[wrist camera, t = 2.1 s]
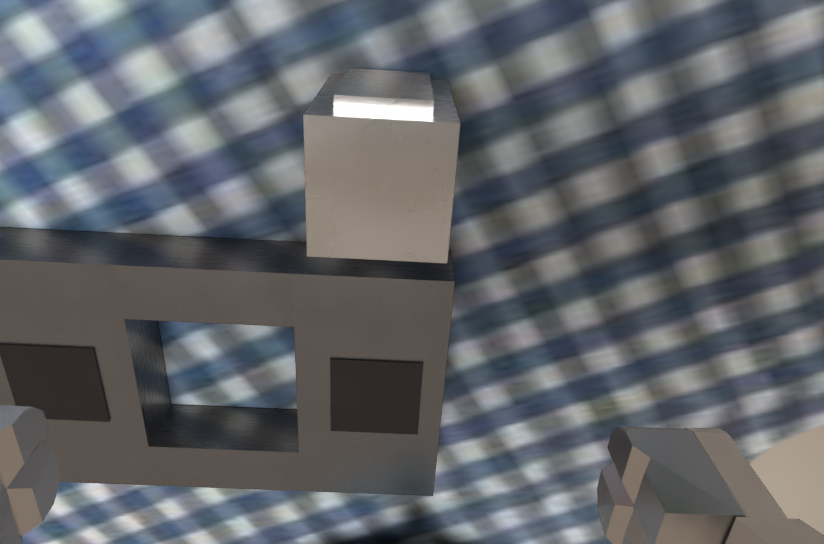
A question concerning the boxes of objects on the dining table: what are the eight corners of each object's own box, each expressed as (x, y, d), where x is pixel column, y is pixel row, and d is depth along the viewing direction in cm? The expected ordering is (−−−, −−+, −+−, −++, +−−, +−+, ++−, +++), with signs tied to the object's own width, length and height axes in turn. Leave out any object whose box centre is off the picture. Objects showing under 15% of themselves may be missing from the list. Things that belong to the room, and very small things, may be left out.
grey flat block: (450, 249, 27) (454, 282, 24) (431, 451, 32) (432, 497, 30) (-8, 226, 26) (-56, 257, 23) (52, 436, 32) (18, 482, 29)
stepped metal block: (447, 69, 23) (461, 109, 17) (437, 198, 26) (446, 274, 20) (331, 62, 23) (302, 100, 17) (332, 193, 26) (307, 267, 19)
